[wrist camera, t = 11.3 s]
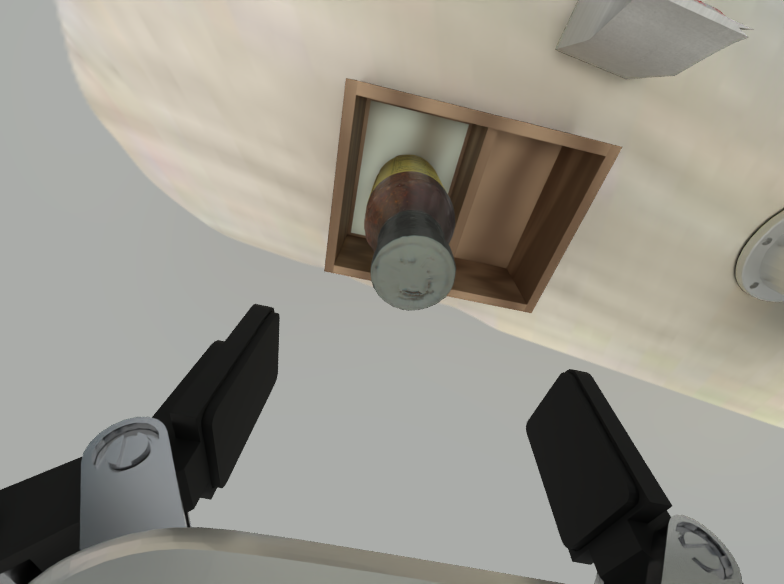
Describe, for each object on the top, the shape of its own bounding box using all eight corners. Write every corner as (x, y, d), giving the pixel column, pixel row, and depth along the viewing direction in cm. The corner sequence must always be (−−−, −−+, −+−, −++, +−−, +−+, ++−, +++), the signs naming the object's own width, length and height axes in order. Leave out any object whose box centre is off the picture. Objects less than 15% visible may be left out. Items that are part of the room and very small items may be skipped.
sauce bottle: (414, 226, 34) (421, 356, 17) (364, 193, 33) (317, 302, 16) (453, 173, 31) (507, 267, 14) (400, 134, 30) (390, 189, 13)
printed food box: (625, 78, 27) (723, 72, 19) (555, 49, 27) (624, 29, 18) (656, 25, 26) (780, -8, 17) (582, -8, 25) (673, -60, 16)
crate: (573, 134, 30) (622, 147, 23) (509, 273, 38) (531, 313, 31) (360, 81, 28) (346, 78, 22) (339, 237, 36) (324, 271, 29)
